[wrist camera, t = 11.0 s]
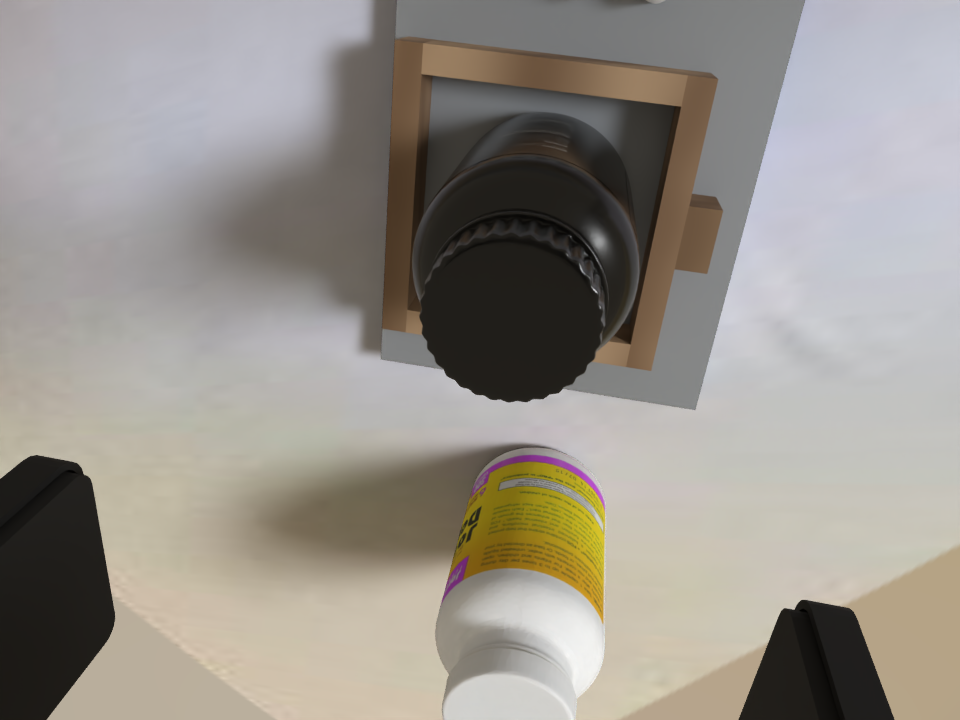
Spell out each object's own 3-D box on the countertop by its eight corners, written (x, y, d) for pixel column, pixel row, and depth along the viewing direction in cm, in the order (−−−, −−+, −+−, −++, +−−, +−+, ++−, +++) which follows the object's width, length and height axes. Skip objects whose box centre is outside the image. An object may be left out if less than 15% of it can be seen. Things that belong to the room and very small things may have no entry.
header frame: (745, 77, 27) (755, 83, 25) (677, 354, 32) (681, 375, 30) (408, 36, 28) (394, 39, 26) (394, 309, 33) (382, 328, 31)
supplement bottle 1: (431, 235, 31) (337, 365, 20) (503, 76, 28) (437, 131, 17) (579, 310, 31) (563, 475, 21) (667, 161, 28) (701, 267, 18)
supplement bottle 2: (477, 431, 36) (417, 635, 25) (616, 452, 36) (619, 671, 24) (468, 540, 39) (410, 765, 28) (595, 561, 39) (589, 801, 27)
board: (813, -63, 26) (833, -68, 23) (692, 396, 34) (698, 426, 31) (409, -105, 27) (391, -113, 24) (387, 348, 35) (372, 373, 33)
